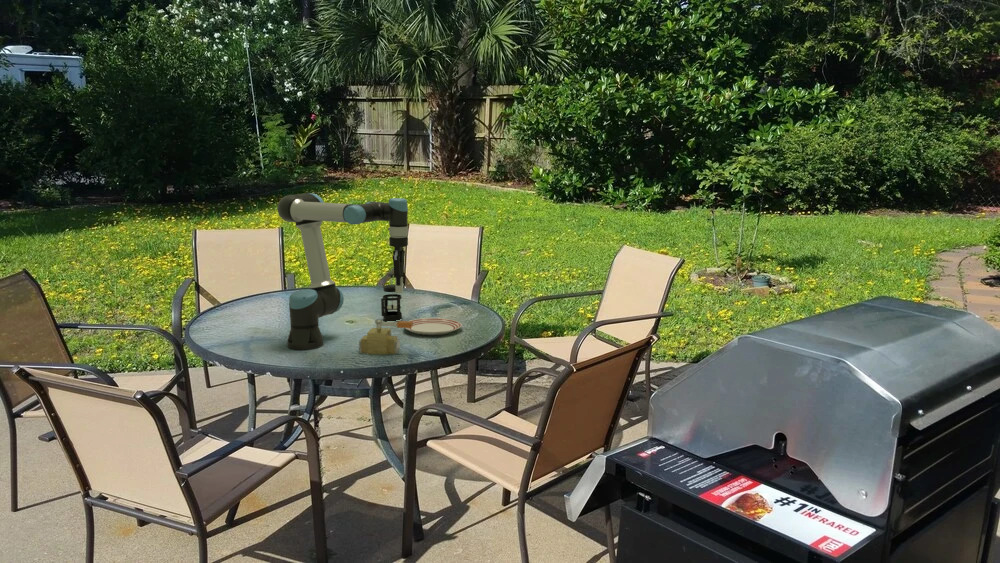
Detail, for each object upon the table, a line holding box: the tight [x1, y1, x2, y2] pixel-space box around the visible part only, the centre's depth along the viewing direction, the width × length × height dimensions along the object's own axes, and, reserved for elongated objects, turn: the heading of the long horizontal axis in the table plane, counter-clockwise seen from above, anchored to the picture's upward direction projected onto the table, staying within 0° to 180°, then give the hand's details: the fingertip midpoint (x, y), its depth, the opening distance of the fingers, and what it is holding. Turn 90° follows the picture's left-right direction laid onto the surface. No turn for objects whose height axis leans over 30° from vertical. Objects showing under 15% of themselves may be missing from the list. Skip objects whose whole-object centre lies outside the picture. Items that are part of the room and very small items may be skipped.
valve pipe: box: [358, 327, 401, 356], centre depth 308 cm, size 16×8×9 cm, turn 85°
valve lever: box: [374, 319, 413, 331], centre depth 306 cm, size 3×16×4 cm, turn 85°
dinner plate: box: [404, 317, 463, 336], centre depth 343 cm, size 28×27×3 cm
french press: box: [380, 273, 403, 322], centre depth 359 cm, size 12×9×23 cm
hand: (399, 292), depth 306 cm, fingers closed
